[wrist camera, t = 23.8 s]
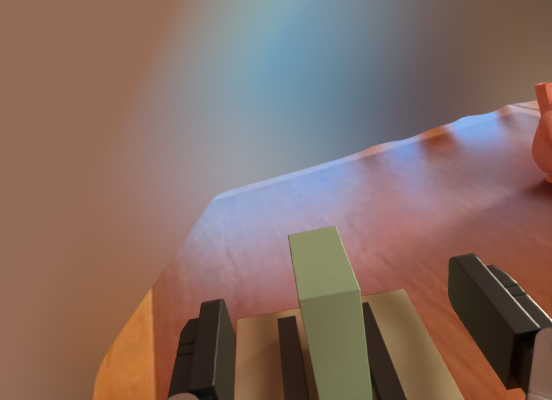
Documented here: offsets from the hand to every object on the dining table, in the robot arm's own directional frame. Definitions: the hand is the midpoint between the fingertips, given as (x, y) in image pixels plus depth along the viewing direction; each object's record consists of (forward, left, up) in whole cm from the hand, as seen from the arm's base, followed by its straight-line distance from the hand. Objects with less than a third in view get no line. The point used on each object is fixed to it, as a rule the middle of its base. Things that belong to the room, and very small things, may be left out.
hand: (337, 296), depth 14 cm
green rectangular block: (-1, +10, -16) cm, 19 cm away
